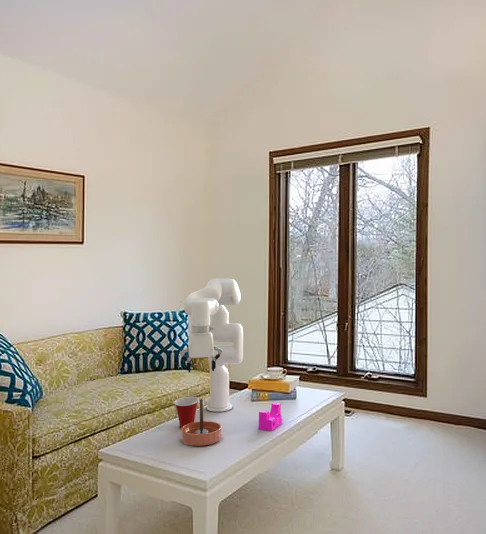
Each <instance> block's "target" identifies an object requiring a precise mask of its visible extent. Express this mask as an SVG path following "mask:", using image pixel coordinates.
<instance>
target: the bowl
mask: <svg viewBox="0 0 486 534" xmlns="http://www.w3.org/2000/svg"><path fill="white" fill-rule="evenodd" d="M199 429H200V420H198V421H194V422H192V423H189V424H186V425H184V426H183V427H182V428H181V427H180V441H181V442H182V443H183V444H186V445H187V446H192V447H193V446H194V447H203V446H210V445H213V444H215V443H217V442H219V441H220V440H221V439H222V424H220V423H219V422H216V421H211V420H203V429H207V430H208V431H209V433H205V434H195V431H196V430H199Z"/></svg>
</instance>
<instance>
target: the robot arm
mask: <svg viewBox="0 0 486 534" xmlns="http://www.w3.org/2000/svg"><path fill="white" fill-rule="evenodd" d="M240 291H241V290H240V289H239V285H238V283H237V281H236V280H235V279H234V278H227V277H226V278H225V277H224V278H217V277H215V278H211V279H210V280H208V282H206V284H205V285H204V287H203V288H200V289H197V290H195V291H193V292H190V293H188V296H187V297H186V299H185V301H184V303H183V304H184V305H183V310H184V312H185V314H186V315H188V316H191V332H189V335H188V345H187V346H188V347H186V348H184V349H182V350H180V351H179V355H180V357H181V358H182V360H183V361H184V362H185V363H186V371H187V372H188V373H191V361H192V359H201V358H202V359H203V358H204V359H205V358H208V360H207V361H208V366H209V397H205V399H204V400H203V403H205V404H207V405H206V410H207V411H209V412H213V413H214V412H215V413H220V412H227V411H231V409H233V404H232V403H230V373H229V370H228V368H227V367H226V365H240V364H241V363H242V362H243V360H244V328H243V325H242V324H240V323H238V322H236V323H235V322H229V321H230V320H229V317H230V315H229V311H228V310H227V308H226V307H225V306H237V305H239V304H240V301H241V292H240ZM214 342H215V343H232V344H214ZM185 353H187V354H188V356H187V357H186V355H185Z"/></svg>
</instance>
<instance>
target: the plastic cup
mask: <svg viewBox="0 0 486 534" xmlns="http://www.w3.org/2000/svg"><path fill="white" fill-rule="evenodd" d="M199 401H200V399H199V397H197V396H184V397H180V398H178V399H175V400H174V401H173V404H174V405H175V409H176V412H177V416H178V417H177V418H178V421H179V427H180V429H181V428H182V427H183V426H184V425H186V424H189V423H192V422H195V421H196V413H197V408H198V403H199Z"/></svg>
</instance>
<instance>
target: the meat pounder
mask: <svg viewBox="0 0 486 534" xmlns="http://www.w3.org/2000/svg"><path fill="white" fill-rule="evenodd" d="M199 421H200V429H199V430H196V431H195V434H205V433H209V431H208V430H207V429H203V421H204V399H203V398H200V399H199Z"/></svg>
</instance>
